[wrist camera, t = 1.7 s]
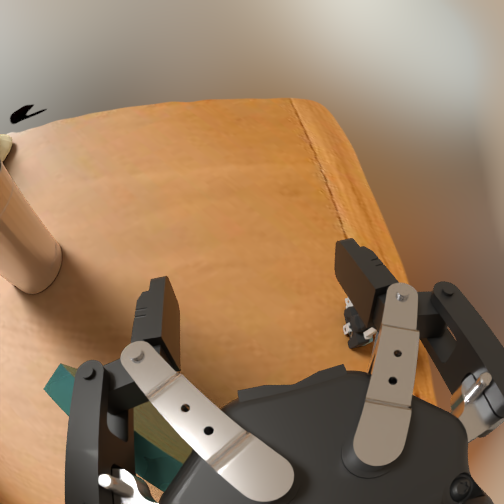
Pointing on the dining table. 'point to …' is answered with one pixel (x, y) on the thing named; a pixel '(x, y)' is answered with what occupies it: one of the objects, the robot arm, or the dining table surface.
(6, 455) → the dining table surface
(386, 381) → the robot arm
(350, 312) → the push button
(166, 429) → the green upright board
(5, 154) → the handbell
